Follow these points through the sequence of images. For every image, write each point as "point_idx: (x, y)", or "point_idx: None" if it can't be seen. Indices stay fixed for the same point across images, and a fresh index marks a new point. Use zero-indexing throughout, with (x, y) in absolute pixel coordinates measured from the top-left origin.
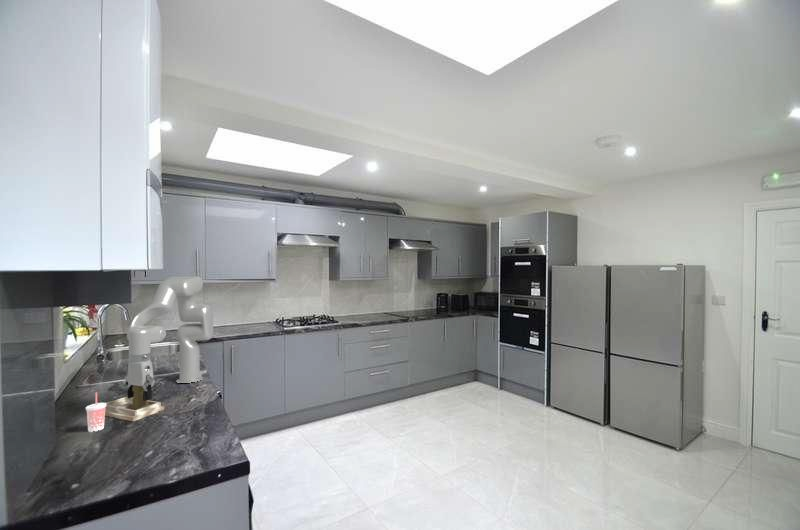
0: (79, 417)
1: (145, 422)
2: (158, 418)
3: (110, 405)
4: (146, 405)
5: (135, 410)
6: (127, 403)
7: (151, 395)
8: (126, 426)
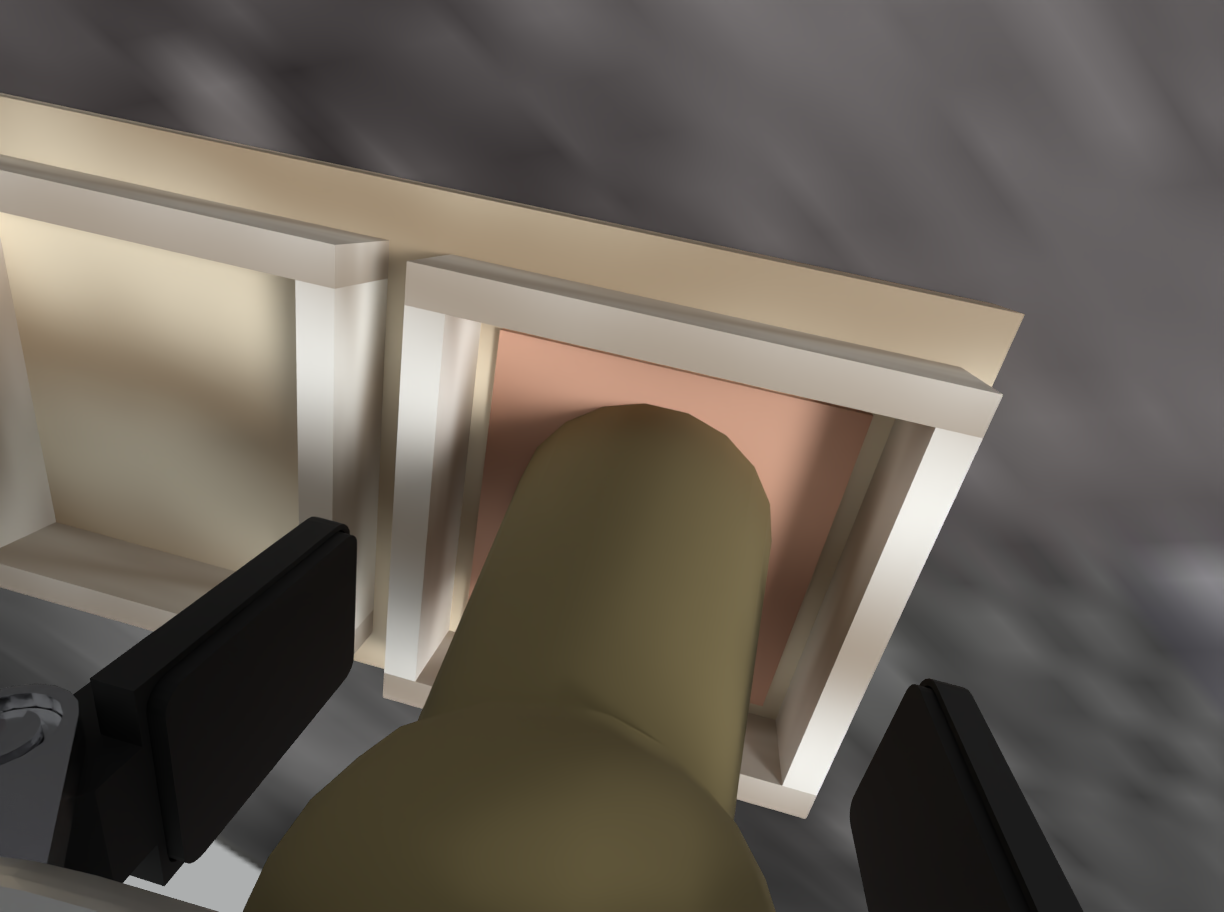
0: (39, 632)
1: (1018, 773)
2: (1142, 660)
3: (16, 432)
4: (764, 551)
5: (781, 787)
6: (305, 502)
7: (996, 759)
8: (842, 855)
